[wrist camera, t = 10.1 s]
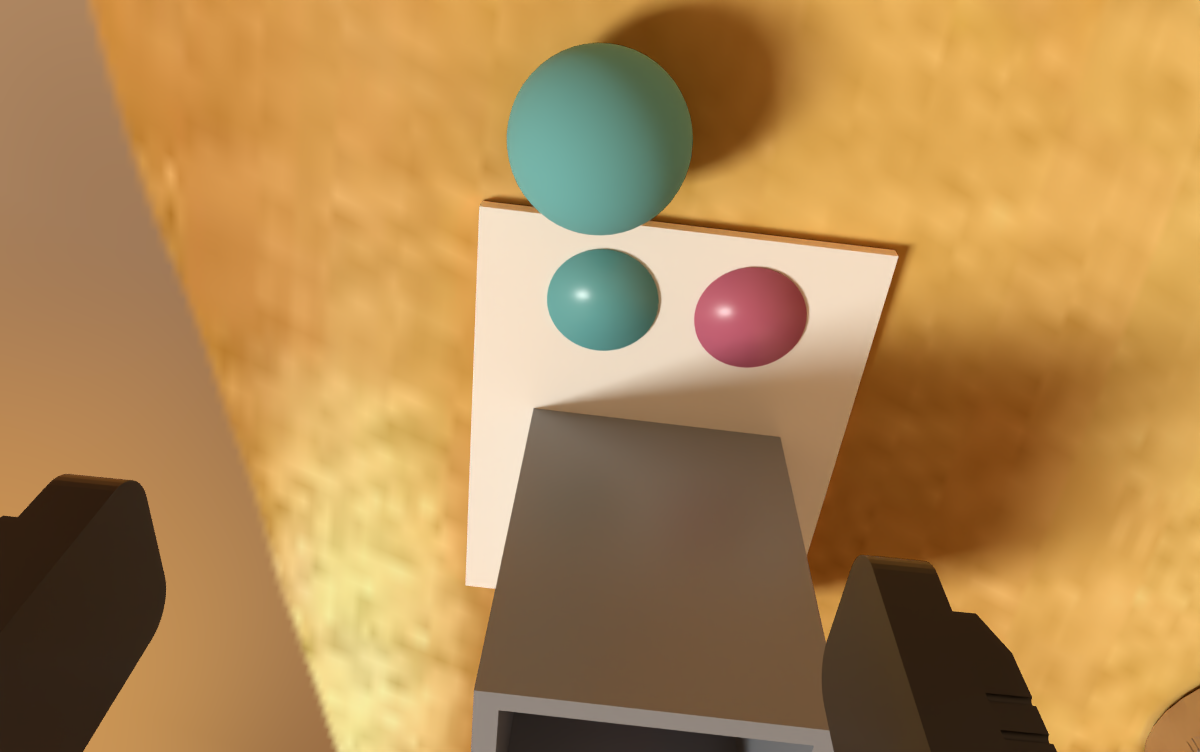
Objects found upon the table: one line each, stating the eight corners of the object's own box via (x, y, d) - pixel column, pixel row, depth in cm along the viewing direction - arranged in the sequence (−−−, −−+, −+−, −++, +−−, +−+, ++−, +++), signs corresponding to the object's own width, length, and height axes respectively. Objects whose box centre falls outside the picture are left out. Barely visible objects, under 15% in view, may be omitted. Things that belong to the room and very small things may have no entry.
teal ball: (702, 39, 25) (713, 78, 20) (675, 208, 27) (679, 275, 23) (525, 17, 24) (498, 52, 20) (514, 188, 27) (489, 252, 23)
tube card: (894, 249, 27) (1050, 505, 17) (784, 612, 36) (842, 939, 25) (482, 200, 27) (372, 426, 17) (467, 576, 36) (388, 889, 25)
